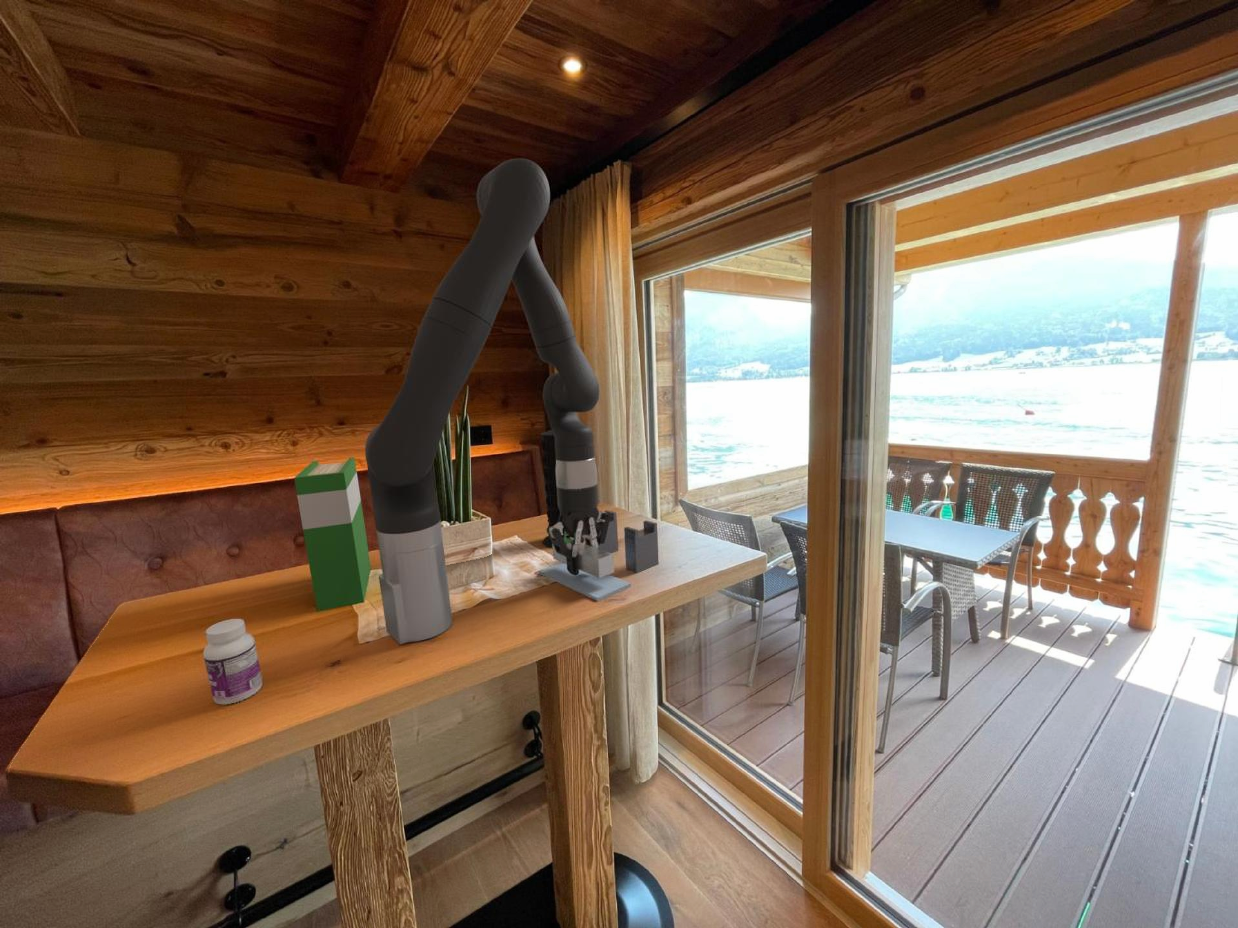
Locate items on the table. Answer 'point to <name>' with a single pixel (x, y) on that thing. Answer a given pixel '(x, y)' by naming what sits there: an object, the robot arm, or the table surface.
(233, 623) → the pill bottle
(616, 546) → the post left
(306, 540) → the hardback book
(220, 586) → the table surface
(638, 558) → the post right
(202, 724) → the table surface
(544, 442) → the handle grip
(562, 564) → the mat
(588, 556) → the rail
